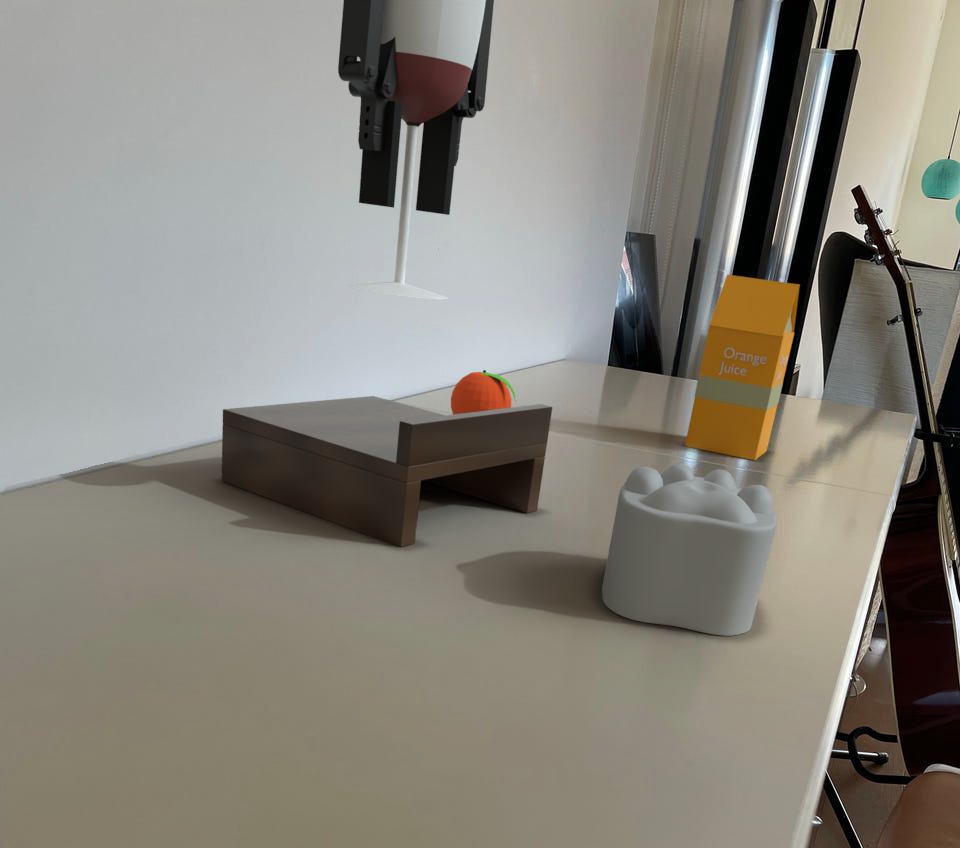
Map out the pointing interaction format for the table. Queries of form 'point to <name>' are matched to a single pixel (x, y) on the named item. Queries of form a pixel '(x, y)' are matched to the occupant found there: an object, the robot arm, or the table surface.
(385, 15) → the wineglass
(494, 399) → the clementine
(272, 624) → the table surface
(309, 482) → the shelf
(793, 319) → the orange juice
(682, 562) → the lumpy-topped squat cylinder
